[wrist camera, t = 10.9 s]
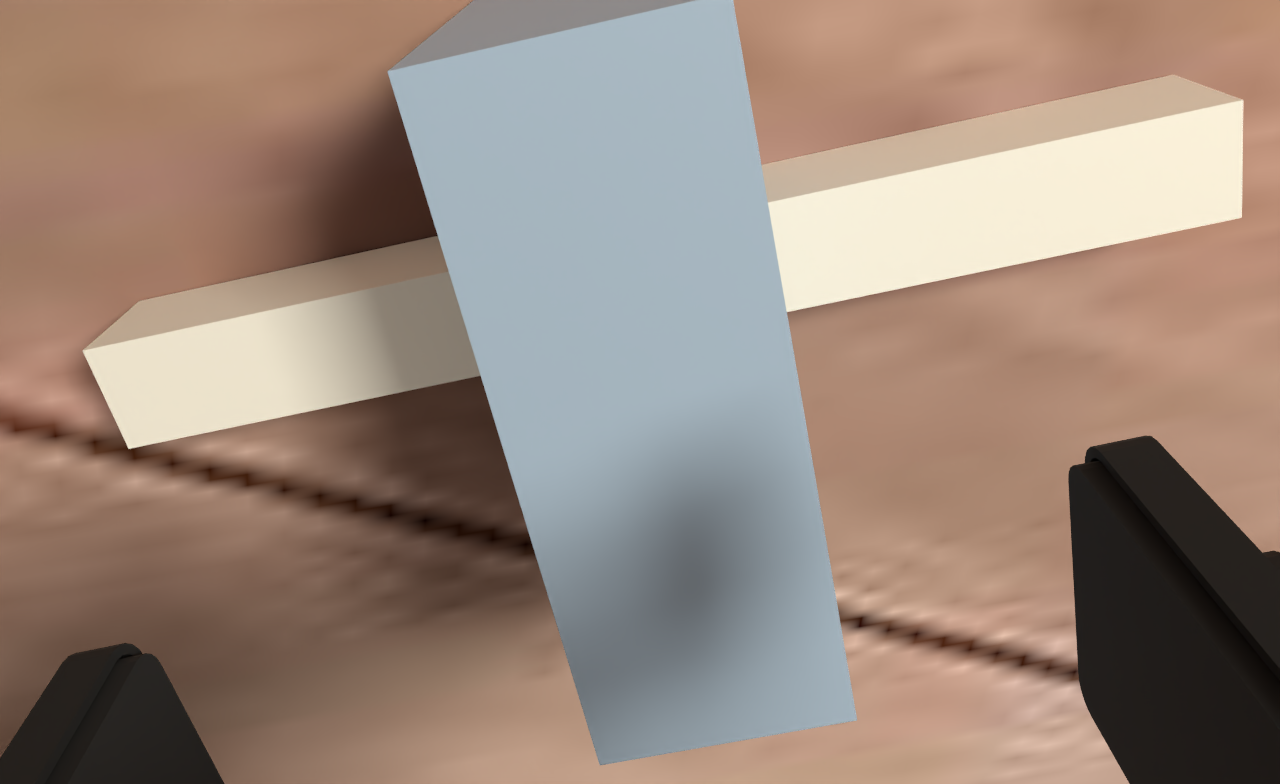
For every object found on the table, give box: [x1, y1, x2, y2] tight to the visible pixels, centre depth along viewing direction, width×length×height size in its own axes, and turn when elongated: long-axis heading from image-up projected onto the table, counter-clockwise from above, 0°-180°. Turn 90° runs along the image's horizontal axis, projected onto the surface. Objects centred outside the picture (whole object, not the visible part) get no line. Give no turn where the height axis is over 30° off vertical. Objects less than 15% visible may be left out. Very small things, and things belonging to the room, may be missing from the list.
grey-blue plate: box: [388, 0, 857, 765], centre depth 21 cm, size 12×4×10 cm, turn 12°
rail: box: [83, 75, 1243, 449], centre depth 24 cm, size 2×24×3 cm, turn 102°
